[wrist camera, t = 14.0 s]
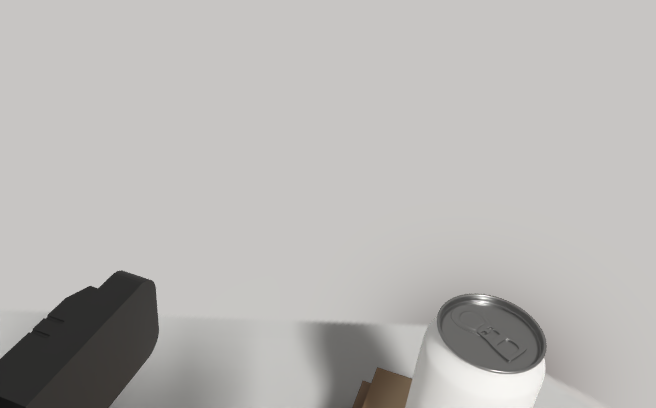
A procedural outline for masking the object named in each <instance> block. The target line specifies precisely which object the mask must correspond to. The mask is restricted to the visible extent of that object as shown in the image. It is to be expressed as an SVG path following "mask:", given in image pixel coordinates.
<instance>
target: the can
mask: <svg viewBox="0 0 656 408" xmlns="http://www.w3.org/2000/svg"><path fill="white" fill-rule="evenodd" d="M545 353H546V339H545V336H544V333H543V331H542V329H541V328H540V326H539V325H538V323H537V322H536V321H535V320H534V319H533V318H532V317H531V316H530V315H529V314H528V313H527V312H525V311H524V310H523V309H521V308H520V307H518V306H516V305H515V304H513V303H511V302H509V301H506V300H504V299H501V298H498V297H495V296H491V295H485V294H465V295H460V296H457V297H454V298H452V299H450V300H448V301H447V302H446V303H445V304H444V305H443V306H442V307H441V308H440V310H439V312H438V316H437V317H436V318H435V319H434V320H433V321H432V322H431V323H430V324H429V326H428V328H427V330H426V332H425V335H424V338H423V341H422V345H421V348H420V352H419V356H418V360H417V363H416V367H415V371H414V375H413V379H412V383H411V386H410V390H409V394H408V398H407V402H406V406H405V408H532V407H533V405H534V403H535V400H536V398H537V395H538V393H539V391H540V388H541V385H542V383H543V380H544V376H545V360H544V356H545Z"/></svg>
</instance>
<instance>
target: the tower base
mask: <svg viewBox="0 0 656 408" xmlns="http://www.w3.org/2000/svg"><path fill="white" fill-rule="evenodd" d="M411 383H412V379H411V378H408V377H405V376H402V375H399V374H396V373H393V372H390V371H387V370H384V369H381V368H378V367H377V369H376V372H375V375H374V378H373V380H372V383H369V382H366V381H363V382H362V384H361V387H360V389H359V392H358V394H357V397H356V400H355V402H354V405H353V407H352V408H405V406H406V402H407V398H408V394H409V390H410V386H411Z"/></svg>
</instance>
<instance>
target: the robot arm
mask: <svg viewBox="0 0 656 408" xmlns="http://www.w3.org/2000/svg"><path fill="white" fill-rule="evenodd" d="M158 333H159V326H158V313H157V300H156V288H155V284H154V282H153V281H152V280H149V279H146V278H143V277H140V276H137V275H134V274H131V273H128V272H125V271H117V272H116V273H114V274H113V275H112V276H111V277H110V278H109V279H108V280H107V281H106V282H104V283H103V285H101V286H100V287H99V288H98V289H97V288H95V287H92V286H89V287H87V288H85V289H83V290H81V291H79V292H77V293H75V294H73V295H71V296H69V297H67V298H65V299H64V300H63V301H62V302H61V303H60V304H59V305H58V306H57V307H56V308H55V309H54V310H53V311H51V312H50V313H49V314H48V317H47V318H46V319H43V320H42V321H41V322H40V323H39V324H37V325H36V326H35V327H34V328H33V331H32V332H31V333H28V334H27V335H26V336H25V337H23V338H22V339H21V340H20V341H19V342H18V343H17V344H16V345H15V346H14V347H13V348H12V349H11V350H10V351H8V352H7V353H6V354H5V355H4V356H3V357H2V358H1V359H0V408H109V407H110V405H111V404H112V403H113V401H114V400H115V399H116V398H117V396H118V395H119V394H120V393H121V391H122V390H123V389H124V388H125V386H126V385H127V384H128V383H129V381H130V380H131V379H132V378H133V376H134V375H135V374H136V373H137V371H138V370H139V369H140V368H141V366H142V365H143V364H144V363H145V361H146V360H147V359H148V358H149V356H150V355H151V353H152V351H153V349H154V347H155V345H156V342H157V338H158Z"/></svg>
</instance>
